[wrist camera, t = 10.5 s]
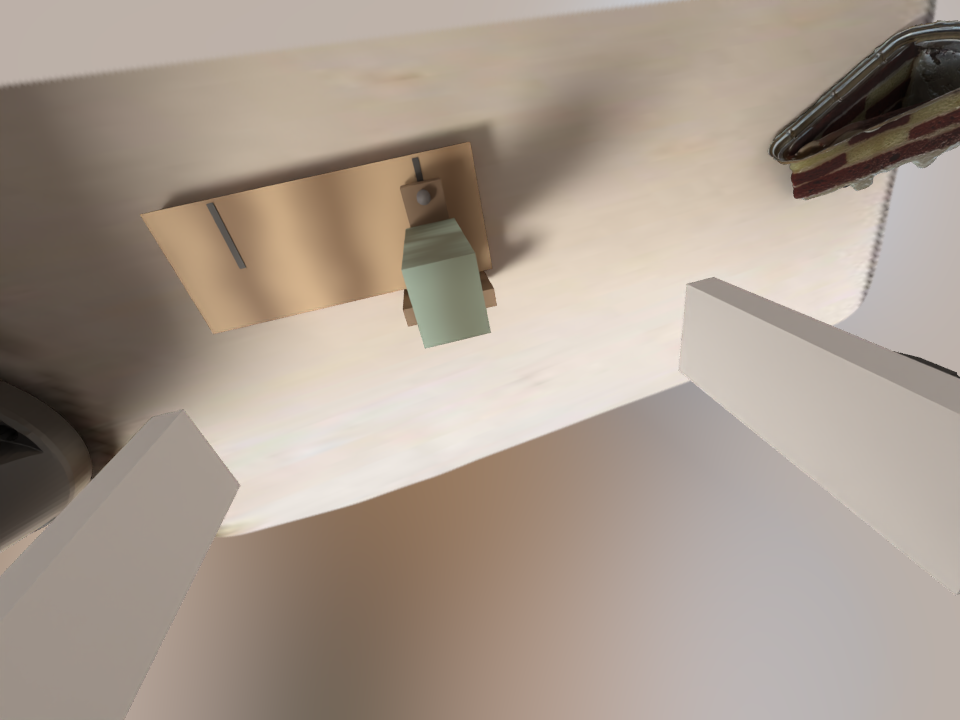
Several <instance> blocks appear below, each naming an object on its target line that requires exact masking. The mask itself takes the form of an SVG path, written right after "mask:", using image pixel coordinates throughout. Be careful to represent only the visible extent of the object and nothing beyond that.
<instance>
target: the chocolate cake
mask: <svg viewBox="0 0 960 720" xmlns="http://www.w3.org/2000/svg"><path fill="white" fill-rule="evenodd" d="M874 51H875V53H873V55H871V56H870V57H869V58H866V59H865V60H864V61H863V62H861V63H860V64H859V65H858V66H857V67H856V68H855V69H854V70H853V71H852V72H851V73H850V74H849V75H848V76H846V77H845V78H843V80H842V81H841V82H839V83H838V84H837V85H835V86H834V87H833V88H832V90H831V91H828V92H827V94H826V95H825V96H824V95H823V96H822V97H821V99H819V100H818V102H817V103H816V104H815V105H814V106H813V107H812V108H811V109H809V110H808V112H805V114H803V115H802V116H801V117H799V118H798V119H797V121H796V122H795V123H793V124H792V125H791V126H790V127H788V128H786V129H785V130H784V131H783V132H782V133H781V134H780V135H779V136H776V138H775V139H774V140H773V141H774V142H772V144H771V145H770V148H769V149H768V154H769V155H770V156H771V157H774V159H775V160H777V161H778V162H779V163H781V164H791V165H790V169H791V170H792V175H791V181H792V183H793V188H794V191H793V194H794V198H796V199H803V200H809V199H811V198H815V197H818V196H822V195H825V194H828V193H831V192H834V191H836V190H838V189H840V188H842V187H848V186H849V185H850V186H852V187H853V188H854V189H855V190H856V191H858V190H862V189H865V188H867V187H869V186H870V185H871V184H872V183H873V177H874V176H875V175H877V174H879V173H883V172H888V171H890V170H892V169H895V168H897V167H899V166H901V165H903V164H905V163H908V162H912V163H914V164H915V165H916V166H917V167H918V168H925V167H927V166H929V165H930V164H931V163H933V162H934V160H935V159H936V158H937V157H938V156H939V155H941V154H942V153H944V152H946V151H949V150H952V149H954V148H956V147H958V146H959V145H960V22H959V21H937V22H934V23H926V24H924V25H922V24H920V25H915V26H912V27H910V28H908V29H907V30H904V31H901V33H897V34H896V35H894V36H892V37H891V38H890V39H889V40H888V41H886V42H885V43H884V44H883V45H882V46H880V47H879V48H878V47H877V48H876V49H875V50H874Z"/></svg>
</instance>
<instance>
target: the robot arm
mask: <svg viewBox="0 0 960 720" xmlns="http://www.w3.org/2000/svg"><path fill="white" fill-rule="evenodd" d="M678 371H679V372H681V373H682V374H683V375H684V376H685V377H687V378H688V379H689V380H690V381H692V382H693V383H694V384H695V385H697V386H698V387H699V388H700V389H702V390H703V391H704V392H705V393H706V394H708V395H709V396H710V397H711V398H713V399H714V400H715V401H716V402H718V403H719V404H720V405H721V406H723V407H724V408H725V409H726V410H727V411H729V412H730V413H731V414H732V415H734V416H735V417H736V418H737V419H738V420H740V421H741V422H742V423H743V424H745V425H746V426H747V427H748V428H750V429H751V430H752V431H753V432H755V433H756V434H757V435H758V436H759V437H761V438H762V439H763V440H764V441H766V442H767V443H768V444H769V445H771V446H772V447H773V448H774V449H775V450H777V451H778V452H779V453H780V454H782V455H783V456H784V457H785V458H787V459H788V460H789V461H790V462H791V463H793V464H794V465H795V466H796V467H798V468H799V469H800V470H801V471H803V472H804V473H805V474H806V475H807V476H809V477H810V478H811V479H812V480H814V481H815V482H816V483H817V484H819V485H820V486H821V487H822V488H823V489H825V490H826V491H827V492H829V493H830V494H831V495H832V496H833V497H835V498H836V499H837V500H839V502H841V503H842V504H843V505H844V506H846V507H847V508H848V509H849V510H851V511H852V512H853V513H854V514H856V515H857V516H858V517H859V518H860V519H862V520H863V521H864V522H865V523H867V524H868V525H869V526H870V527H872V528H873V529H874V530H875V531H877V532H878V533H879V534H880V535H881V536H883V537H884V538H885V539H886V540H888V541H889V542H890V543H891V544H893V545H894V546H895V547H896V548H897V549H899V550H900V551H901V552H902V553H904V554H905V555H906V556H907V557H908V558H910V559H911V560H912V561H913V562H915V563H916V564H917V565H918V566H920V567H921V568H922V569H923V570H924V571H926V572H927V573H928V574H929V575H931V576H932V577H933V578H934V579H936V580H937V581H938V582H939V583H941V584H942V585H943V586H944V587H946V588H947V589H948V590H949V591H951V592H952V593H953V594H954V595H958V594H960V377H959V376H958V375H957V372H954V371H952V370H949V369H946V368H944V367H942V366H939V365H937V364H934V363H932V362H929V361H926V360H924V359H922V358H919V357H915V356H911V355H907V354H903V353H898V352H895V351H891V350H889V349H887V348H884V347H882V346H879V345H877V344H874V343H872V342H869V341H867V340H864V339H862V338H859V337H858V336H855V335H852V334H850V333H848V332H845V331H843V330H841V329H838V328H836V327H833V326H831V325H829V324H826V323H824V322H821V321H819V320H816V319H814V318H812V317H809V316H807V315H804V314H802V313H799V312H797V311H795V310H792V309H790V308H787V307H785V306H783V305H780V304H778V303H775V302H773V301H770V300H768V299H766V298H763V297H761V296H758V295H756V294H754V293H751V292H749V291H746V290H744V289H741V288H739V287H737V286H734V285H732V284H729V283H727V282H724V281H722V280H720V279H717V278H715V277H712V278H708V279H704V280H700V281H696V282H692V283H688V284H687V285H686V296H685V306H684V317H683V327H682V338H681V348H680V359H679V369H678ZM91 475H92V462H91V457H90V454H89V451H88V449H87V447H86V445H85V443H84V441H83V440H82V438H81V437H80V435H79V434H78V433H77V432H76V430H75V429H74V428H73V427H72V426H71V425H70V424H69V423H68V422H67V421H66V420H65V419H64V418H63V417H62V416H61V415H59V414H58V413H57V412H56V411H54V410H53V409H52V408H51V407H49V406H48V405H46V404H45V403H43V402H42V401H40V400H39V399H37V398H35V397H34V396H32V395H30V394H28V393H27V392H25V391H23V390H21V389H19V388H17V387H15V386H13V385H10V384H8V383H6V382H3V381H1V380H0V553H1V552H2V551H4V550H6V549H7V548H9V547H10V546H12V545H14V544H15V543H17V542H18V541H20V540H21V539H23V538H25V537H26V536H28V535H29V534H31V533H33V532H35V531H37V530H39V529H41V528H43V527H45V526H47V525H48V524H49V525H48V527H47V528H46V529H45V530H44V531H43V532H42V533H41V534H40V535H39V536H38V537H37V538H36V539H35V540H34V541H33V542H32V543H31V544H30V545H29V546H28V548H27V549H26V550H25V551H24V552H23V553H22V554H21V555H20V556H19V557H18V558H17V559H16V560H15V561H14V562H13V563H12V564H11V565H10V566H9V567H8V568H7V570H6V571H5V572H4V573H3V574H2V575H1V576H0V720H124V719H125V717H126V715H127V713H128V711H129V709H130V707H131V705H132V703H133V701H134V699H135V697H136V695H137V693H138V691H139V689H140V687H141V685H142V683H143V681H144V679H145V677H146V675H147V673H148V671H149V669H150V666H151V665H152V663H153V661H154V659H155V656H156V655H157V652H158V650H159V648H160V646H161V644H162V642H163V640H164V638H165V636H166V634H167V632H168V630H169V628H170V626H171V624H172V622H173V620H174V618H175V616H176V614H177V612H178V610H179V608H180V606H181V604H182V602H183V600H184V598H185V596H186V594H187V592H188V590H189V588H190V586H191V584H192V582H193V580H194V578H195V576H196V574H197V572H198V570H199V568H200V566H201V564H202V562H203V560H204V558H205V556H206V554H207V552H208V550H209V548H210V545H211V544H212V541H213V540H214V537H215V535H216V533H217V531H218V529H219V527H220V525H221V523H222V521H223V519H224V517H225V515H226V513H227V511H228V509H229V507H230V505H231V503H232V501H233V499H234V497H235V495H236V493H237V491H238V489H239V487H240V484H239V483H238V481H237V480H236V479H235V477H234V476H233V475H232V473H231V472H230V471H229V469H228V468H227V467H226V465H225V464H224V463H223V461H222V460H221V459H220V457H219V456H218V455H217V453H216V452H215V451H214V449H213V448H212V447H211V445H210V444H209V443H208V441H207V440H206V439H205V437H204V436H203V435H202V433H201V432H200V431H199V429H198V428H197V427H196V425H195V424H194V423H193V421H192V420H191V419H190V417H189V416H188V415H187V413H186V412H185V411H184V409H183V410H179V411H175V412H171V413H167V414H163V415H159V416H155V417H151V419H150V420H149V421H148V422H147V423H146V424H145V425H144V426H143V427H142V428H141V429H140V430H139V431H138V432H137V433H136V434H135V435H134V436H133V437H132V438H131V439H130V441H129V442H128V443H127V444H126V445H125V446H124V447H123V448H122V449H121V450H120V451H119V452H118V453H117V454H116V455H115V456H114V457H113V458H112V459H111V460H110V462H109V463H108V464H107V465H106V466H105V467H104V468H103V469H102V470H101V471H100V472H99V473H98V474H97V475H96V476H95V477H94V478H93V479H92V480H91V481H90V479H91Z"/></svg>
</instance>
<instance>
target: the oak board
mask: <svg viewBox="0 0 960 720" xmlns="http://www.w3.org/2000/svg"><path fill="white" fill-rule="evenodd" d="M437 177H439V178H440V179H441V183H442V188H443V192H444V197H445V201H446V206H447V210H448V215H449V219H451V218H455V220H456V222H457V223H458V225H459V227H460V228H461V230H462V232H463V233H464V235H465V237H466V238H467V240H468V242H469V243H470V245H471V247H472V248H473V250H474V252H475V255H476V260H477V265H478V270H479V272H480V271H484V270H488V269H492V263H491V258H490V252H489V246H488V241H487V235H486V229H485V224H484V218H483V212H482V207H481V201H480V195H479V189H478V184H477V178H476V172H475V167H474V161H473V155H472V150H471V144H470V142H465V143H460V144H456V145H451V146H447V147H442V148H438V149H433V150H429V151H424V152H420V153H415V154H411V155H406V156H402V157H397V158H393V159H388V160H384V161H379V162H374V163H370V164H365V165H361V166H356V167H352V168H347V169H343V170H338V171H334V172H329V173H325V174H320V175H316V176H311V177H307V178H302V179H298V180H293V181H288V182H284V183H279V184H275V185H270V186H266V187H261V188H257V189H252V190H248V191H243V192H239V193H234V194H230V195H225V196H221V197H216V198H212V199H207V200H202V201H198V202H193V203H189V204H184V205H180V206H175V207H171V208H166V209H162V210H157V211H153V212H149V213H145V214H140V216H141V217H142V219H143V220H144V222H145V224H146V225H147V227H148V229H149V230H150V232H151V233H152V235H153V237H154V238H155V240H156V242H157V243H158V245H159V246H160V248H161V250H162V251H163V253H164V255H165V256H166V258H167V259H168V261H169V263H170V264H171V266H172V268H173V269H174V271H175V272H176V274H177V276H178V277H179V279H180V281H181V282H182V284H183V285H184V287H185V289H186V290H187V292H188V294H189V295H190V297H191V298H192V300H193V302H194V303H195V305H196V307H197V308H198V310H199V311H200V313H201V315H202V316H203V318H204V320H205V321H206V323H207V324H208V326H209V328H210V329H211V331H212V333H213V334H216V333H220V332H224V331H229V330H233V329H237V328H241V327H246V326H250V325H254V324H258V323H263V322H267V321H271V320H276V319H280V318H284V317H288V316H293V315H297V314H301V313H305V312H310V311H314V310H318V309H322V308H327V307H331V306H335V305H339V304H344V303H348V302H352V301H356V300H361V299H365V298H369V297H373V296H378V295H382V294H386V293H390V292H395V291H399V290H403V289H407V287H406V284H405V281H404V277H403V274H402V271H401V269H402V259H403V249H404V240H405V230H406V229H407V228H410V224H409V221H408V217H407V213H406V210H405V206H404V202H403V199H402V195H401V191H400V187H401V186H402V185H406V184H410V183H415V182H419V181H424V180H428V179H433V178H437Z"/></svg>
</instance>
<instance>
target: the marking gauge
mask: <svg viewBox="0 0 960 720" xmlns="http://www.w3.org/2000/svg"><path fill="white" fill-rule="evenodd" d="M400 191H401V195H402V199H403V202H404V206H405V210H406V213H407V217H408V221H409V224H410V228H407V229H406V230H405V240H404V249H403V259H402V269H401V271H402V274H403V277H404V281H405V284H406V287H407V289H404V301H403V312H404V315H405V318H406V321H407V324H408V327H409V326H413V325H417V324H418V327H419V330H420V334H421V337H422V340H423V344H424V347H425V348H430V347H434V346H438V345H442V344H446V343H450V342H454V341H459V340H463V339H467V338H471V337H475V336H479V335H483V334H487V333H491V331H490V326H489V321H488V316H487V311H486V308H488V307H493V306H497V303H496V298H495V292H494V288H493V286H492V284H491V283H490V281H489V279H488V277H487V276H486V274H485V272H484V271H480V272H479V270H478V265H477V260H476V255H475V252H474V250H473V248H472V247H471V245H470V243H469V242H468V240H467V238H466V237H465V235H464V233H463V232H462V230H461V228H460V227H459V225H458V223H457V222H456V220H455V218H451V219H449V215H448V210H447V206H446V201H445V197H444V192H443V188H442V183H441V179H440V178H439V177H437V178H433V179H428V180H424V181H419V182H415V183H410V184H406V185H402V186H401V187H400Z"/></svg>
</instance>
